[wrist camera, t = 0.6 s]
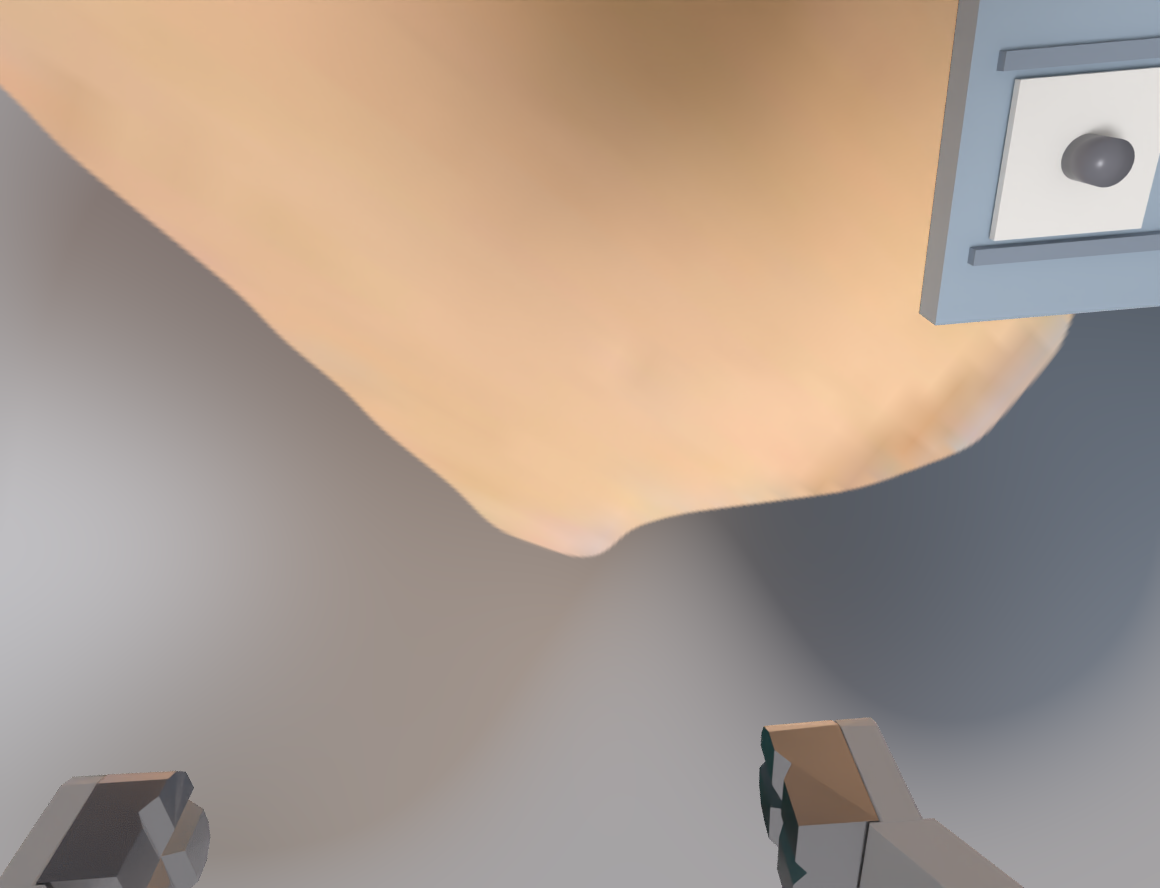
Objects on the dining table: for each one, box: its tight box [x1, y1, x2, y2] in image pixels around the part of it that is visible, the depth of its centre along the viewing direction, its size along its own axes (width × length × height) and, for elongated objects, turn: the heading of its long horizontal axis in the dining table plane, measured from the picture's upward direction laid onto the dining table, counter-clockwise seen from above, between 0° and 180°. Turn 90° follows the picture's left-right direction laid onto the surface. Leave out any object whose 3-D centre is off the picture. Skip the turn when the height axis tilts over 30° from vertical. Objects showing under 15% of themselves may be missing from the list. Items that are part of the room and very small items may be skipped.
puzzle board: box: [919, 0, 1160, 325], centre depth 47 cm, size 20×22×3 cm
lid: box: [989, 67, 1160, 241], centre depth 45 cm, size 9×9×3 cm
